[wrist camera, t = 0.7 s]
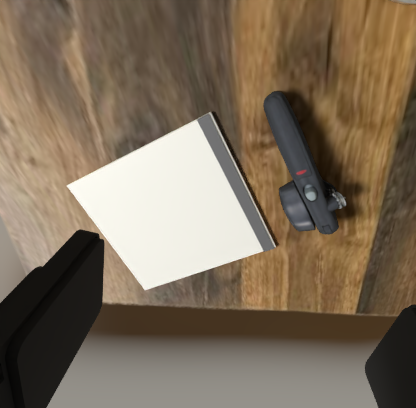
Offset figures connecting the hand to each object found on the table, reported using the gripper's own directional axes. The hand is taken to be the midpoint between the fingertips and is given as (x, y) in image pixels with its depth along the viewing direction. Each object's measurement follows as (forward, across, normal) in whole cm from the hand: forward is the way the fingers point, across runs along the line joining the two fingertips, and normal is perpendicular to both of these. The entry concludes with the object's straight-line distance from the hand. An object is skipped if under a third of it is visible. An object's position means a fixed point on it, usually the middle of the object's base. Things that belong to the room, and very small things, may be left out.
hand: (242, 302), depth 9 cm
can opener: (+28, -7, +3) cm, 30 cm away
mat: (+28, +6, +14) cm, 32 cm away
